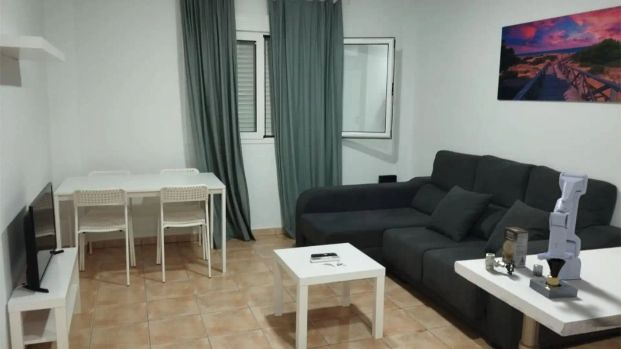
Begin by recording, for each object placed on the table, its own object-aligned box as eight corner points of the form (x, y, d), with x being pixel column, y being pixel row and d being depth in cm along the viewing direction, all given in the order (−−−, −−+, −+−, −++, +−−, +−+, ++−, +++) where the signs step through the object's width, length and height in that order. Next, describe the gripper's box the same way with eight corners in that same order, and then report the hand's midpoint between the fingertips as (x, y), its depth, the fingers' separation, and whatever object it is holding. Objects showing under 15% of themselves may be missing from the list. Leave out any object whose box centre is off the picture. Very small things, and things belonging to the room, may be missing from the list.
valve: (481, 269, 220) (508, 276, 212) (482, 255, 219) (509, 261, 211) (488, 266, 225) (515, 273, 217) (489, 252, 224) (516, 258, 216)
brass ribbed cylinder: (553, 289, 199) (554, 274, 198) (559, 292, 195) (561, 278, 194) (544, 289, 198) (545, 274, 197) (550, 293, 194) (551, 278, 194)
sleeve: (537, 273, 217) (537, 264, 217) (544, 275, 214) (544, 266, 214) (531, 274, 216) (531, 265, 215) (538, 276, 213) (539, 267, 212)
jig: (556, 285, 203) (557, 278, 203) (577, 296, 192) (577, 289, 191) (529, 286, 201) (530, 279, 201) (548, 298, 189) (549, 290, 189)
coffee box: (500, 261, 233) (503, 227, 230) (512, 260, 234) (515, 226, 232) (514, 267, 224) (517, 232, 221) (526, 266, 226) (529, 231, 223)
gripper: (547, 246, 188) (543, 281, 190) (581, 245, 191) (577, 279, 193) (535, 241, 195) (532, 274, 197) (568, 240, 198) (565, 273, 200)
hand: (554, 276), depth 195 cm, fingers closed, pressing on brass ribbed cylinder
